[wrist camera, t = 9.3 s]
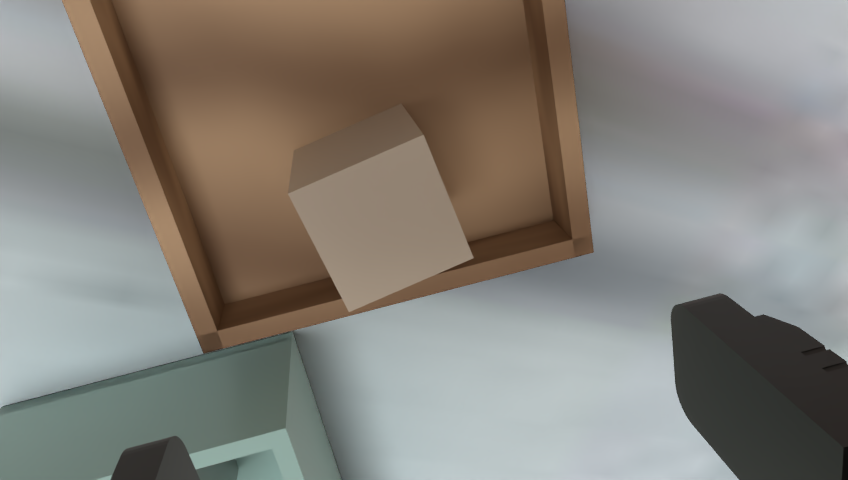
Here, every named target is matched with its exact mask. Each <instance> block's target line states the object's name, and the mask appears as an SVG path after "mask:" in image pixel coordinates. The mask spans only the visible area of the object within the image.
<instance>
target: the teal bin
mask: <svg viewBox="0 0 848 480" xmlns="http://www.w3.org/2000/svg"><path fill="white" fill-rule="evenodd" d="M172 436H177V437H179V438H180V439H181V440H182V441H183V443H184V445H185V447H186V449H187V451H188V453H189V456H190V458H191V460H192V462H193V465H194V467H195V469H199V468H203V467H207V466H210V465H214V464H218V463H222V462H225V461H229V460H233V459H235V460H236V462H237V465H238V468H239V470H238V476H237V480H342V479H341V476H340V473H339V470H338V467H337V464H336V461H335V458H334V455H333V452H332V449H331V446H330V443H329V440H328V437H327V434H326V431H325V428H324V425H323V422H322V419H321V416H320V413H319V410H318V407H317V404H316V401H315V398H314V395H313V392H312V389H311V386H310V383H309V380H308V377H307V374H306V371H305V368H304V365H303V362H302V359H301V356H300V353H299V350H298V347H297V344H296V341H295V338H294V335H293V332H289V333H285V334H281V335H277V336H273V337H270V338H266V339H262V340H258V341H254V342H250V343H246V344H243V345H239V346H235V347H231V348H227V349H223V350H220V351H216V352H212V353H208V354H204V355H200V356H196V357H193V358H189V359H185V360H181V361H177V362H173V363H169V364H166V365H162V366H158V367H154V368H150V369H146V370H143V371H139V372H135V373H131V374H127V375H123V376H119V377H116V378H112V379H108V380H104V381H100V382H96V383H92V384H89V385H85V386H81V387H77V388H73V389H69V390H66V391H62V392H58V393H54V394H50V395H46V396H42V397H39V398H35V399H31V400H27V401H23V402H19V403H15V404H12V405H8V406H4V407H2V408H1V409H0V480H110V479H111V477H112V475H113V472H114V470H115V468H116V465H117V463H118V461H119V458H120V456H121V454H122V452H123V451H124V450H125V449H127V448H130V447H134V446H138V445H142V444H145V443H149V442H153V441H157V440H161V439H164V438H168V437H172Z"/></svg>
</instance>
